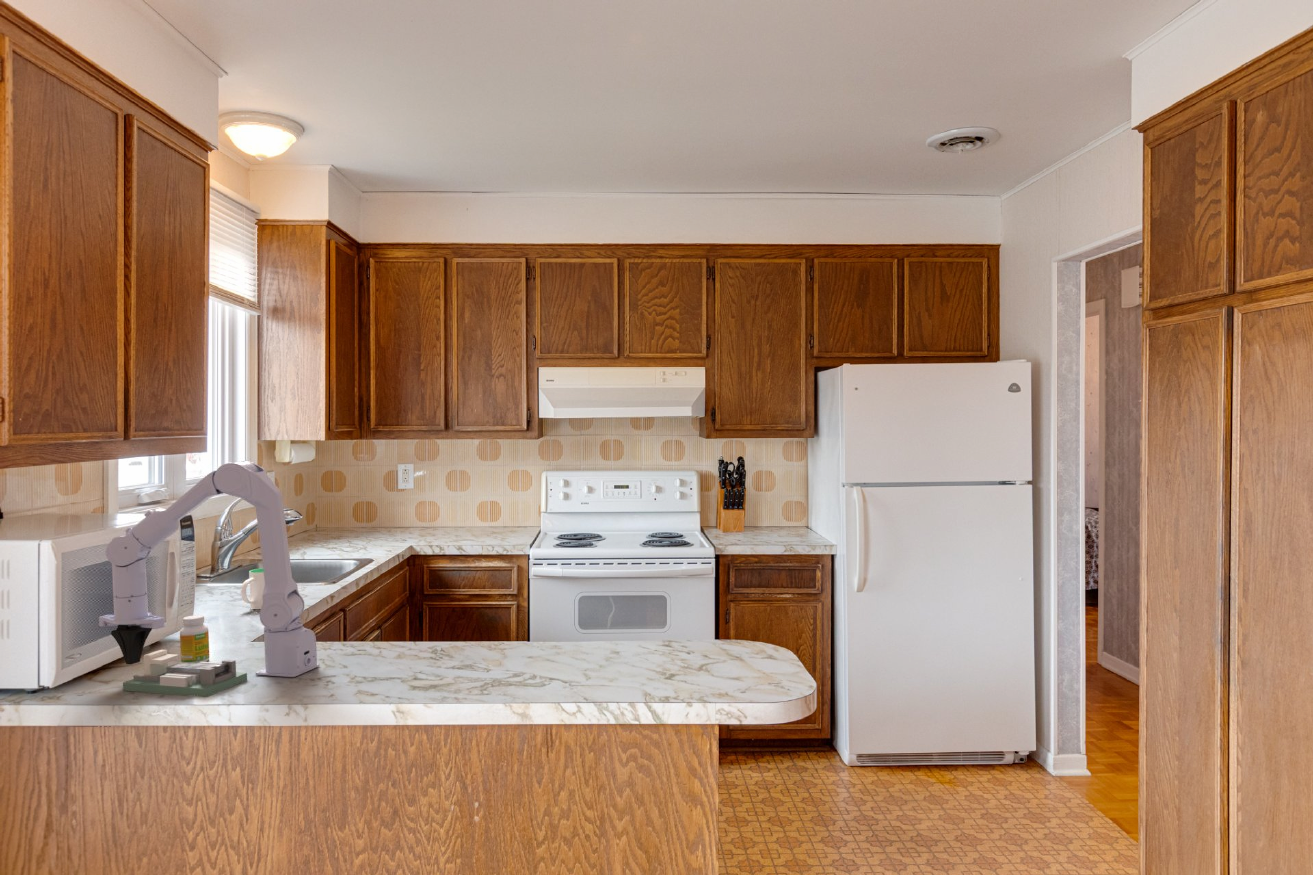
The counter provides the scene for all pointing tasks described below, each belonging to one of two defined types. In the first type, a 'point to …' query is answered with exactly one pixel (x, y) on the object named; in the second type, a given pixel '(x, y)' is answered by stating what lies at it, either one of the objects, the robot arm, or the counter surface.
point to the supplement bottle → (194, 640)
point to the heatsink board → (188, 681)
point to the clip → (157, 662)
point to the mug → (254, 588)
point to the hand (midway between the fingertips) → (133, 663)
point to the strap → (197, 668)
